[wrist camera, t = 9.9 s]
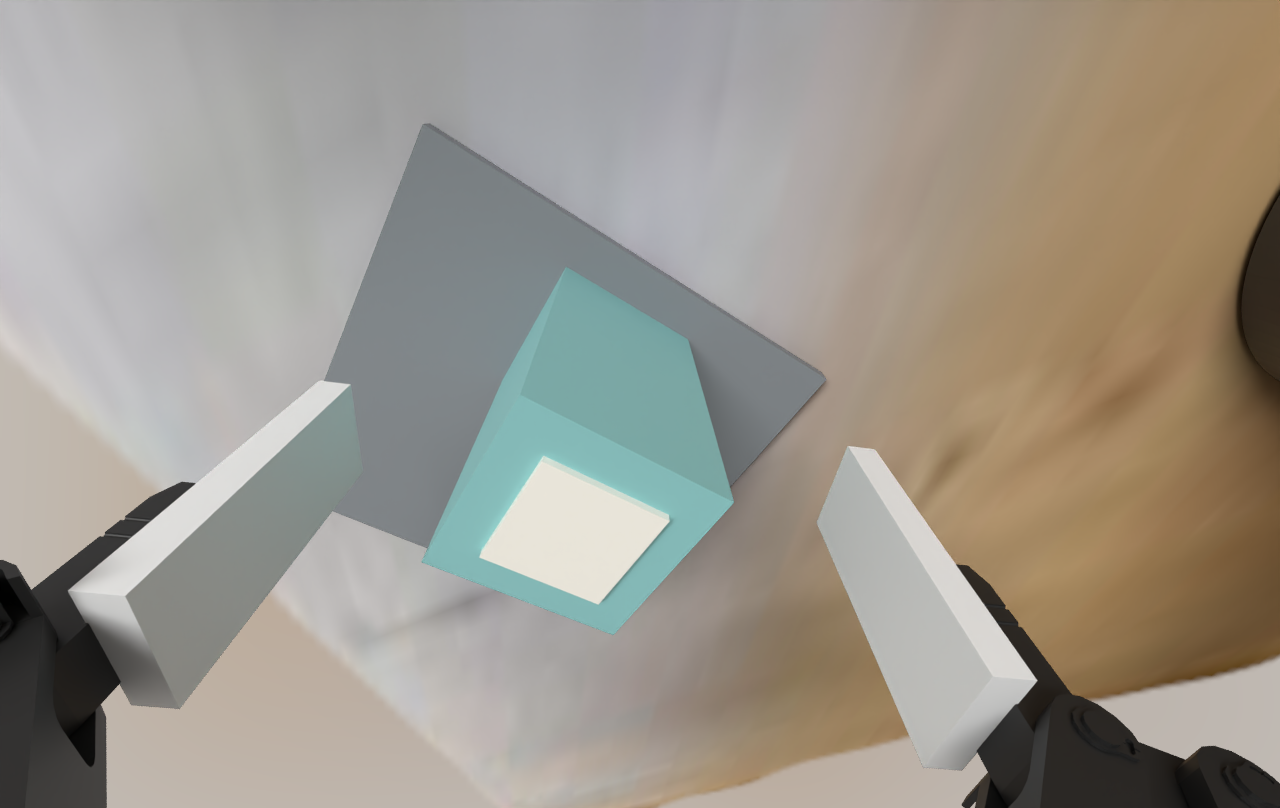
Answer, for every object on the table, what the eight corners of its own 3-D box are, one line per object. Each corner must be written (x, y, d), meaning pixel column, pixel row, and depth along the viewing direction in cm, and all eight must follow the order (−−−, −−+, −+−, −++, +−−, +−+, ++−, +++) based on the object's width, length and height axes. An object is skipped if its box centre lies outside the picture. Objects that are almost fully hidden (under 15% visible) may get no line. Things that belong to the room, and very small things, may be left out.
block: (688, 339, 19) (736, 508, 11) (616, 438, 21) (612, 642, 13) (566, 266, 17) (517, 400, 9) (502, 380, 19) (418, 569, 11)
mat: (821, 372, 20) (826, 379, 20) (611, 610, 27) (610, 620, 26) (429, 123, 16) (422, 123, 15) (289, 482, 22) (281, 491, 22)
